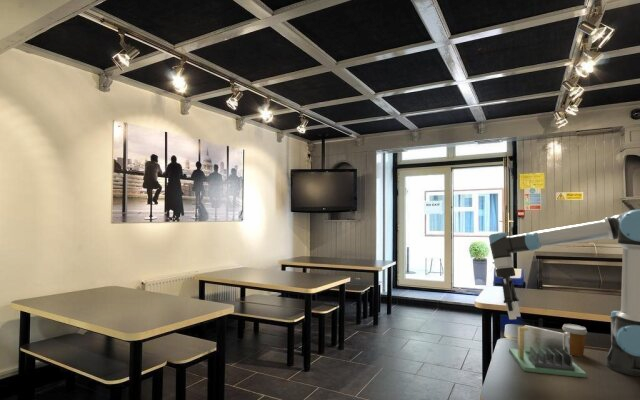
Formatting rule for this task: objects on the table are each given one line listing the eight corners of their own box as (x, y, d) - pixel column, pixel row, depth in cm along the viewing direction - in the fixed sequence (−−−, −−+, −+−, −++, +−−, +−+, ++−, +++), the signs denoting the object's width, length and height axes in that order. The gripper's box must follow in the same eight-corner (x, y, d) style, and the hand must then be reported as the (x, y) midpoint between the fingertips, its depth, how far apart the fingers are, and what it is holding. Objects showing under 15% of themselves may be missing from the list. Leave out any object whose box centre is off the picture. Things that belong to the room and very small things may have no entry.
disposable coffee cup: (591, 358, 164) (591, 330, 165) (567, 356, 166) (567, 329, 167) (581, 350, 174) (581, 324, 174) (558, 349, 176) (558, 323, 176)
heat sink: (568, 360, 157) (568, 329, 157) (580, 371, 146) (580, 338, 147) (517, 356, 161) (517, 325, 162) (525, 366, 151) (525, 333, 151)
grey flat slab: (564, 359, 157) (564, 333, 158) (563, 360, 156) (562, 334, 157) (525, 349, 168) (525, 325, 169) (524, 350, 167) (524, 325, 168)
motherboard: (563, 356, 166) (563, 353, 166) (586, 377, 144) (586, 373, 144) (508, 351, 171) (508, 348, 171) (523, 370, 149) (523, 367, 149)
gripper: (499, 269, 178) (509, 316, 173) (490, 268, 158) (501, 320, 152) (517, 267, 174) (528, 315, 169) (509, 265, 154) (521, 319, 148)
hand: (515, 318), depth 161 cm, fingers open, 13 cm apart
